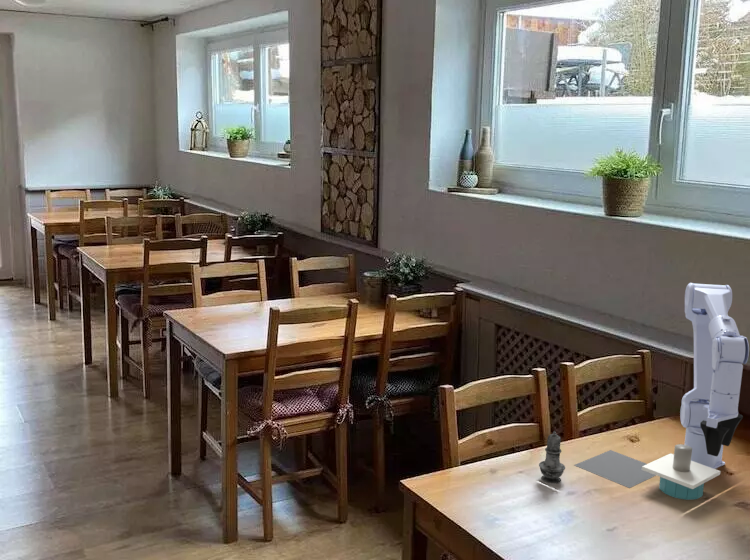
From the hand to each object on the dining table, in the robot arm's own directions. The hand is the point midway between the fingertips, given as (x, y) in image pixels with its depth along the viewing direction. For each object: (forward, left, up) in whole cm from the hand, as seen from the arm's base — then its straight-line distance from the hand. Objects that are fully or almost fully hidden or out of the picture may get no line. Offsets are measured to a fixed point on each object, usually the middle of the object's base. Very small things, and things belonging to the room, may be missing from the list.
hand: (718, 449), depth 175 cm
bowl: (+5, -5, -10) cm, 13 cm away
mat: (+6, -20, -10) cm, 23 cm away
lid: (+5, -5, -6) cm, 9 cm away
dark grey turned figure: (+24, -26, -11) cm, 37 cm away
